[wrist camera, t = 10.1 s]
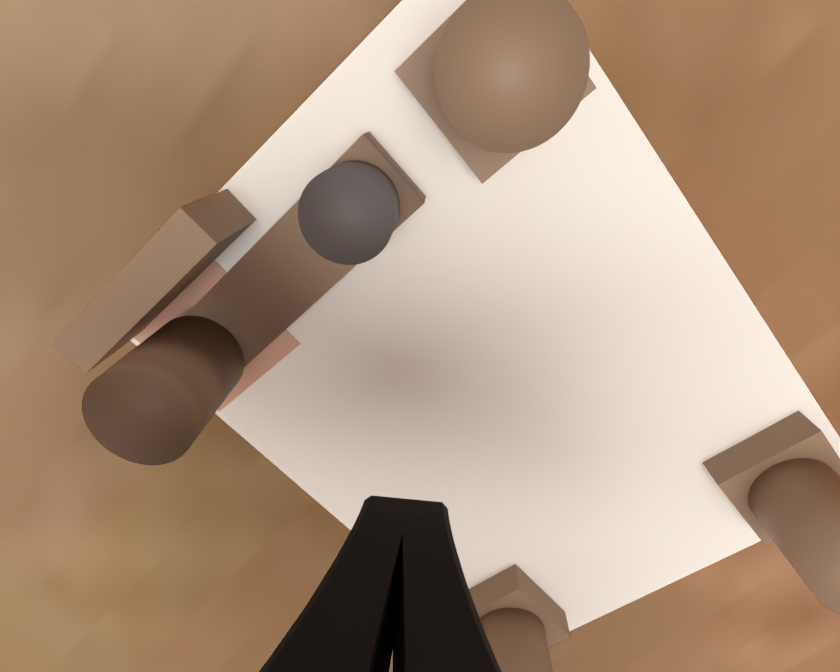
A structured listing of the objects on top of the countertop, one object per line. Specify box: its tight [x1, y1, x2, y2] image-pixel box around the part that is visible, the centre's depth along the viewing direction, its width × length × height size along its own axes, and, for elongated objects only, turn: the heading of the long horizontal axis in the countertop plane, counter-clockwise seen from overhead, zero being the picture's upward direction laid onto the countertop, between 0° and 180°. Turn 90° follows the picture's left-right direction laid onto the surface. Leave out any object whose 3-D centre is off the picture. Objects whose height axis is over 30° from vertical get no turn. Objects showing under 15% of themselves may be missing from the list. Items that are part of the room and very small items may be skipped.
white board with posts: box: [51, 0, 840, 672], centre depth 14 cm, size 19×14×6 cm
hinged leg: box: [82, 132, 426, 465], centre depth 12 cm, size 8×2×4 cm, turn 132°
